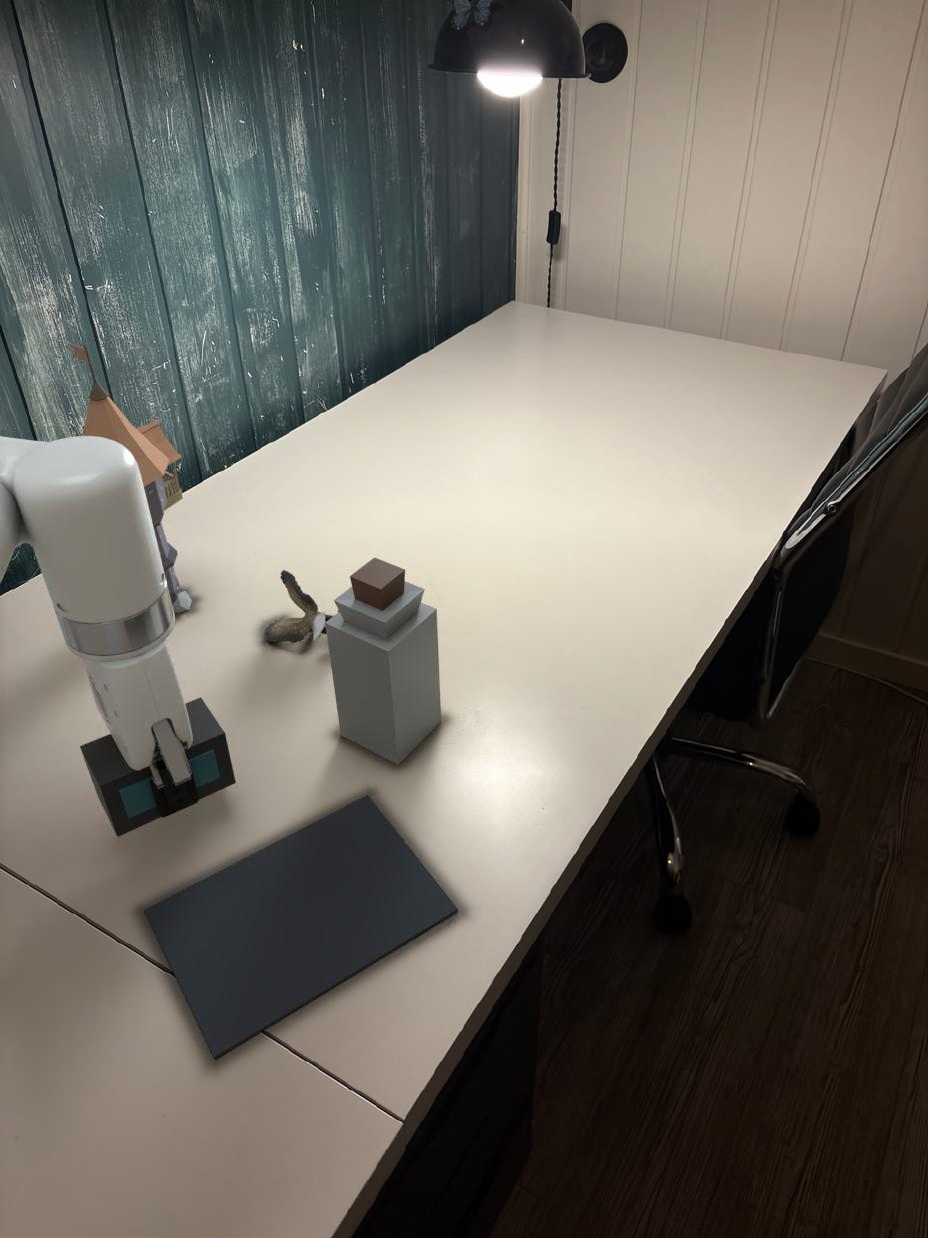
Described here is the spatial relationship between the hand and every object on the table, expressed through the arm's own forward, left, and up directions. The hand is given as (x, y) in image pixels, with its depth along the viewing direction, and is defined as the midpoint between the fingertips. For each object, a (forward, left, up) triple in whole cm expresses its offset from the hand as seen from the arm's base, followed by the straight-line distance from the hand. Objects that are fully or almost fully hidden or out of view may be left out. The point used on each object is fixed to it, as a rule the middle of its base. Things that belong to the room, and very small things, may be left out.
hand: (165, 783), depth 75 cm
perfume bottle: (+21, -1, -5) cm, 21 cm away
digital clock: (0, 0, -1) cm, 1 cm away
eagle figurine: (+21, +16, -5) cm, 26 cm away
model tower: (+10, +31, -5) cm, 33 cm away
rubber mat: (+5, -14, -5) cm, 16 cm away
